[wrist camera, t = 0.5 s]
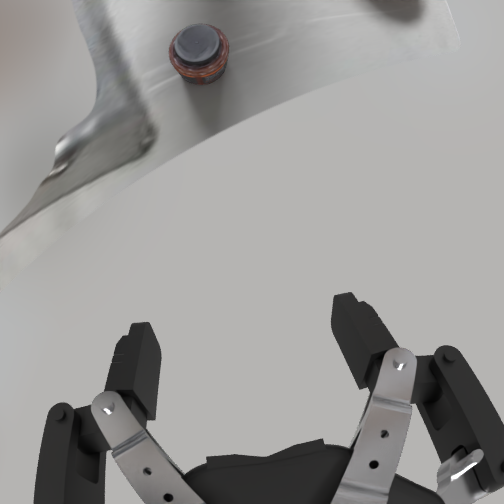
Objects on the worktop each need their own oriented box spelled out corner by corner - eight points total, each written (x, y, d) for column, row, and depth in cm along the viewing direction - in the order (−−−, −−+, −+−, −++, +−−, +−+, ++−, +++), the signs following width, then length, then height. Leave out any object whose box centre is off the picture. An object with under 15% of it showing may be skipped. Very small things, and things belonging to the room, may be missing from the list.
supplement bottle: (234, 53, 29) (244, 29, 19) (212, 92, 31) (212, 82, 21) (192, 36, 27) (184, 7, 17) (170, 75, 29) (152, 60, 19)
